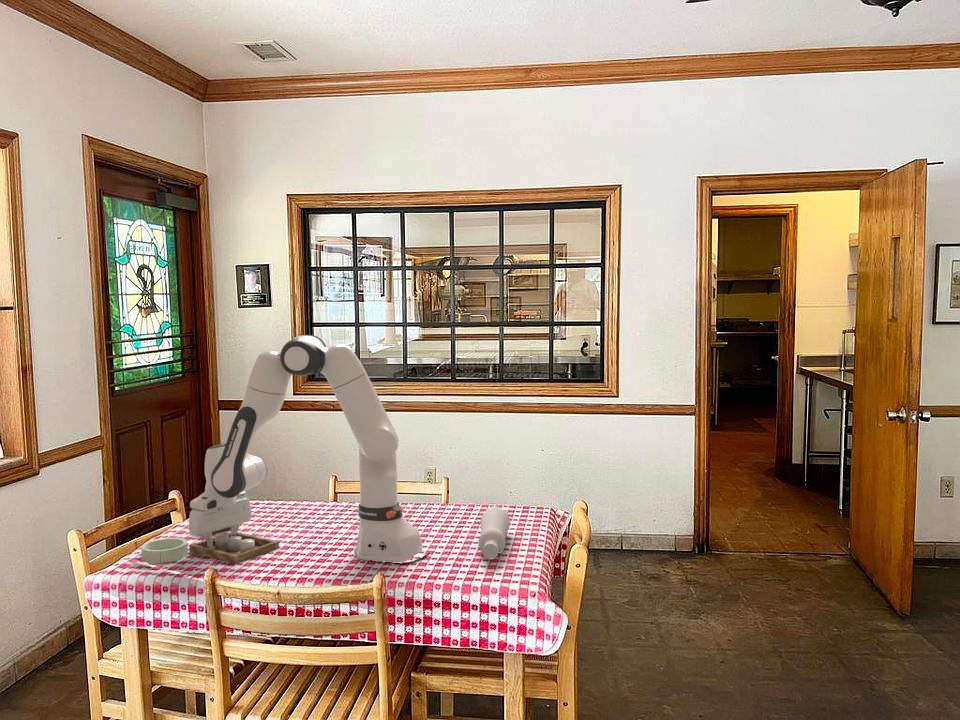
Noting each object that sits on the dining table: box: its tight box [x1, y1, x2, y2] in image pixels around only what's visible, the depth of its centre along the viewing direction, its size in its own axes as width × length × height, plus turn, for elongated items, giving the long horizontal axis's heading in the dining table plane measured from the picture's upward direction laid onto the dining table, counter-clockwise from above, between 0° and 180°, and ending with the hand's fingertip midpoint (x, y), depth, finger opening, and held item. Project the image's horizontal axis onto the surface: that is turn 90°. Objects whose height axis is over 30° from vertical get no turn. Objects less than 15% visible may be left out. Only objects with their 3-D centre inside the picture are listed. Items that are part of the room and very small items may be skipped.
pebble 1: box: [214, 532, 229, 549], centre depth 212 cm, size 4×4×4 cm
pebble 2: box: [227, 536, 242, 552], centre depth 209 cm, size 4×4×4 cm
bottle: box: [478, 506, 510, 559], centre depth 213 cm, size 9×9×30 cm
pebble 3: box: [240, 539, 254, 553], centre depth 206 cm, size 4×4×4 cm
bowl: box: [140, 537, 189, 564], centre depth 204 cm, size 12×12×4 cm
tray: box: [188, 531, 280, 565], centre depth 209 cm, size 20×16×3 cm
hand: (222, 543), depth 212 cm, fingers open, 6 cm apart
